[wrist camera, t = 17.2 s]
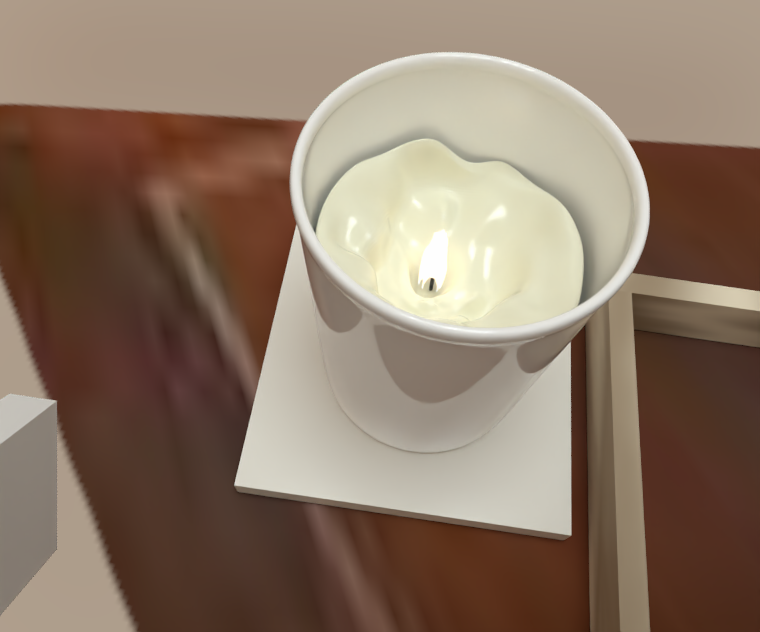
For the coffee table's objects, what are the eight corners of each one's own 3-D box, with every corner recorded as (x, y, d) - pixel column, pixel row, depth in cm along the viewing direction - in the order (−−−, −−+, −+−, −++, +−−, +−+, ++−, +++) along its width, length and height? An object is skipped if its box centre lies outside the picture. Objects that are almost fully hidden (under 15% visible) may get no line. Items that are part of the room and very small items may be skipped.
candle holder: (339, 243, 31) (341, 22, 21) (547, 289, 31) (657, 87, 20) (277, 441, 27) (239, 285, 16) (521, 500, 26) (645, 378, 16)
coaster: (564, 265, 33) (570, 254, 32) (563, 540, 27) (571, 535, 26) (299, 227, 33) (298, 215, 32) (237, 491, 27) (234, 485, 26)
